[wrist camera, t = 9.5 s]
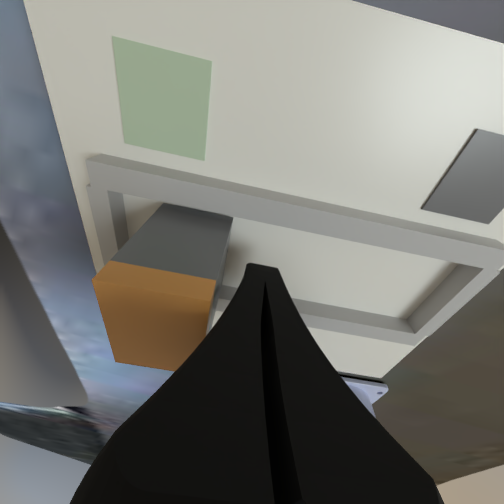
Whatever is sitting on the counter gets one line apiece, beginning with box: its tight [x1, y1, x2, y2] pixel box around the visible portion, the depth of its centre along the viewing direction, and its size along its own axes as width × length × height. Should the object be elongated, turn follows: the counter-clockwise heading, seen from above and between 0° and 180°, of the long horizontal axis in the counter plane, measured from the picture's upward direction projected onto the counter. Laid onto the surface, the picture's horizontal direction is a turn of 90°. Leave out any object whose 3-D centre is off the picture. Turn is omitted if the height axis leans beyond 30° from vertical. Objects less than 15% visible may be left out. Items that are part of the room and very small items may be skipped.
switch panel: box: [23, 0, 504, 378], centre depth 12 cm, size 18×20×2 cm
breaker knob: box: [92, 203, 233, 371], centre depth 9 cm, size 4×3×5 cm
